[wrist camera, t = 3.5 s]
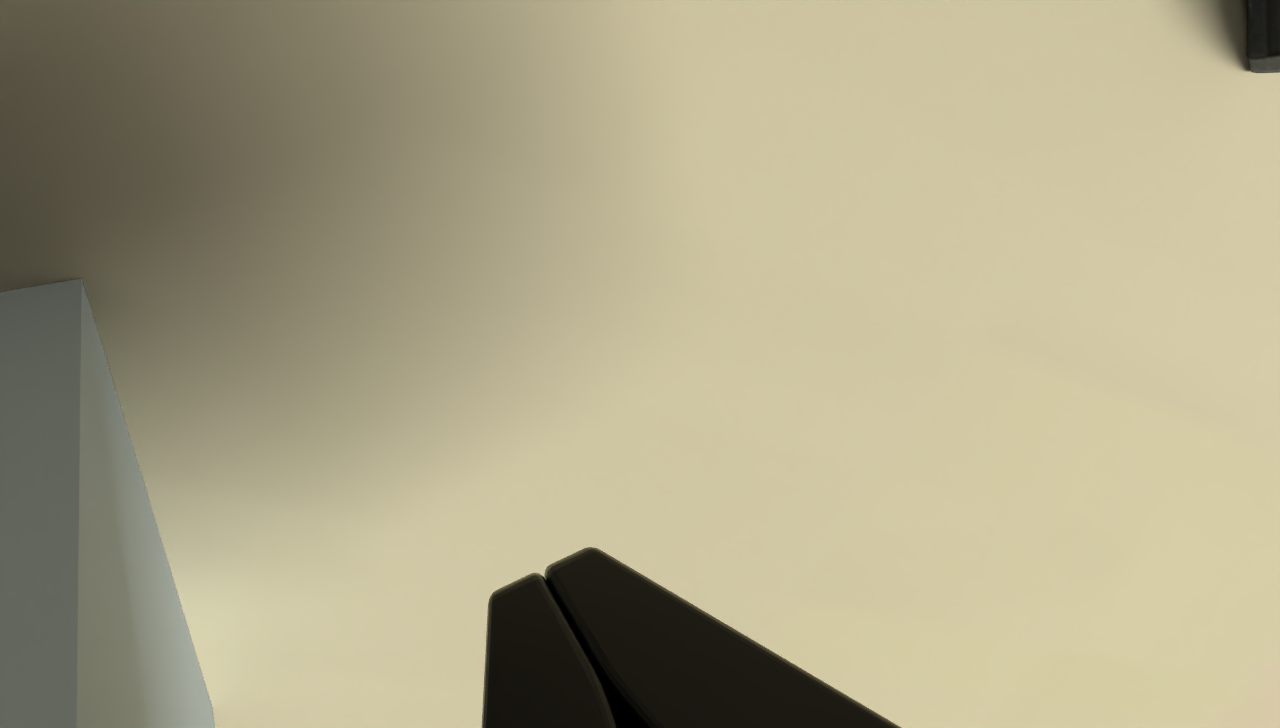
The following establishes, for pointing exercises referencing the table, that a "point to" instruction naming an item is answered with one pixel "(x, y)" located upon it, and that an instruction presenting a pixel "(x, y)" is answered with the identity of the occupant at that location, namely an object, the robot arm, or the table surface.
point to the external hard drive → (1263, 35)
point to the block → (80, 539)
